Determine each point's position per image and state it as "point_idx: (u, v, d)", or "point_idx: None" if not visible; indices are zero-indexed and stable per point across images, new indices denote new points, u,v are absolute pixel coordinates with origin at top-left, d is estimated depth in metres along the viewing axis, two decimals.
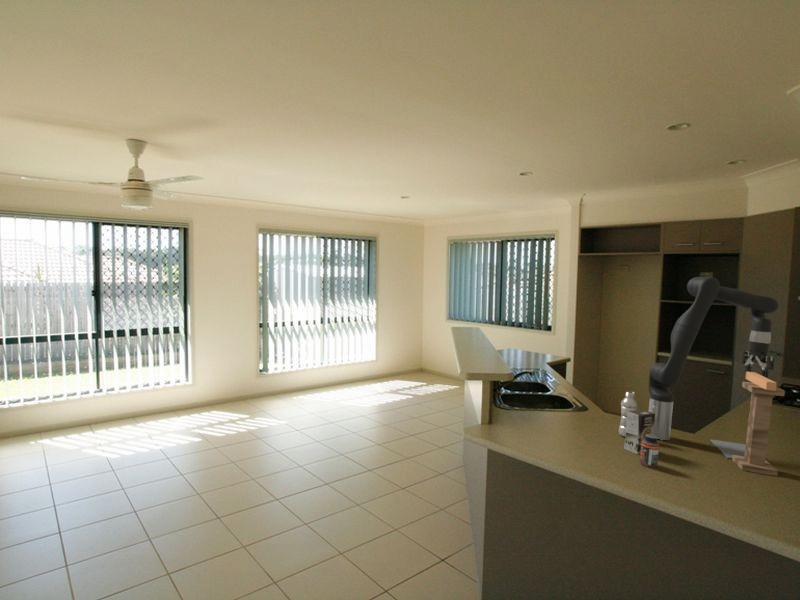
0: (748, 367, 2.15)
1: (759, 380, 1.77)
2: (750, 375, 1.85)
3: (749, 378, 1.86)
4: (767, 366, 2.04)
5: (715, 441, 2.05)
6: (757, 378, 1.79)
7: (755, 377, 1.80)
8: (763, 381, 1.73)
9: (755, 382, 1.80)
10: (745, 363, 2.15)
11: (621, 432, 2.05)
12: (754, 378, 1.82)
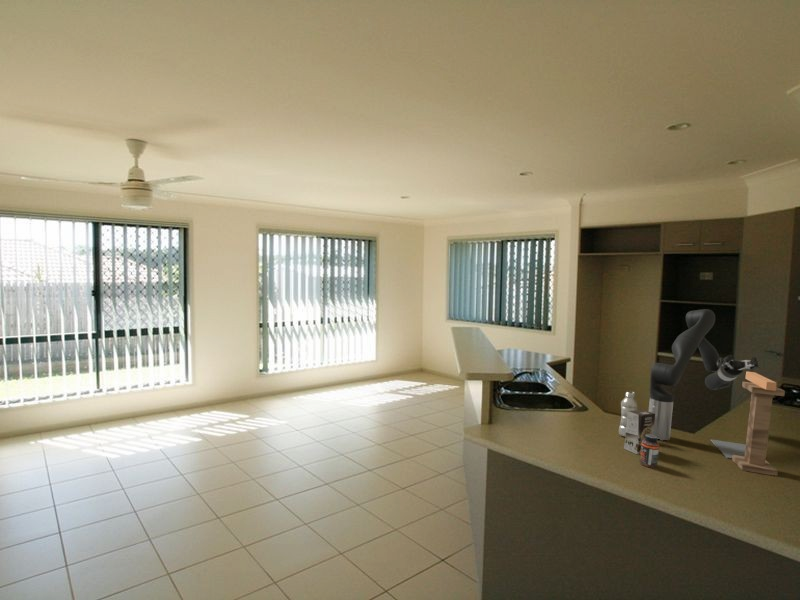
0: None
1: (759, 380, 1.77)
2: (750, 375, 1.85)
3: (749, 378, 1.86)
4: None
5: (715, 441, 2.05)
6: (757, 378, 1.79)
7: (755, 377, 1.80)
8: (763, 381, 1.73)
9: (755, 382, 1.80)
10: None
11: (621, 432, 2.05)
12: (754, 378, 1.82)
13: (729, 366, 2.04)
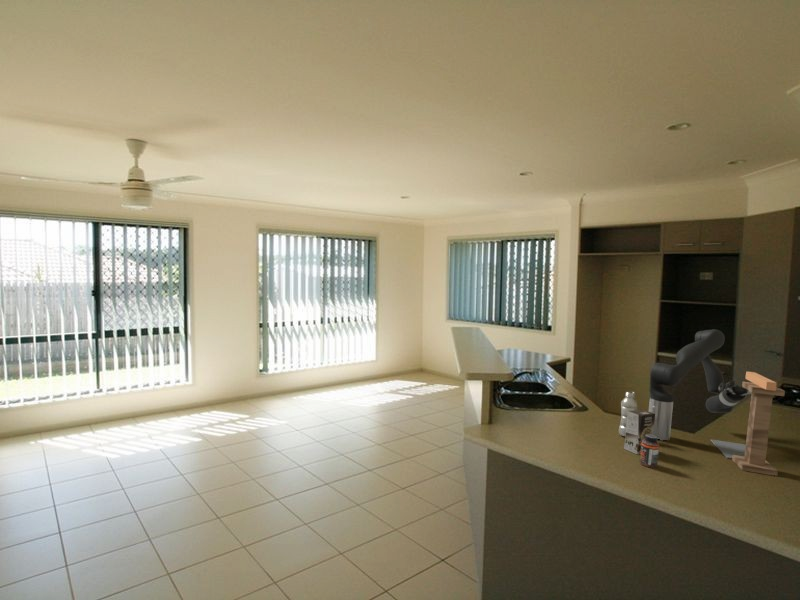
0: None
1: (759, 380, 1.77)
2: (750, 375, 1.85)
3: (749, 378, 1.86)
4: None
5: (715, 441, 2.05)
6: (757, 378, 1.79)
7: (755, 377, 1.80)
8: (763, 381, 1.73)
9: (755, 382, 1.80)
10: (727, 383, 1.99)
11: (621, 432, 2.05)
12: (754, 378, 1.82)
13: (731, 391, 1.99)
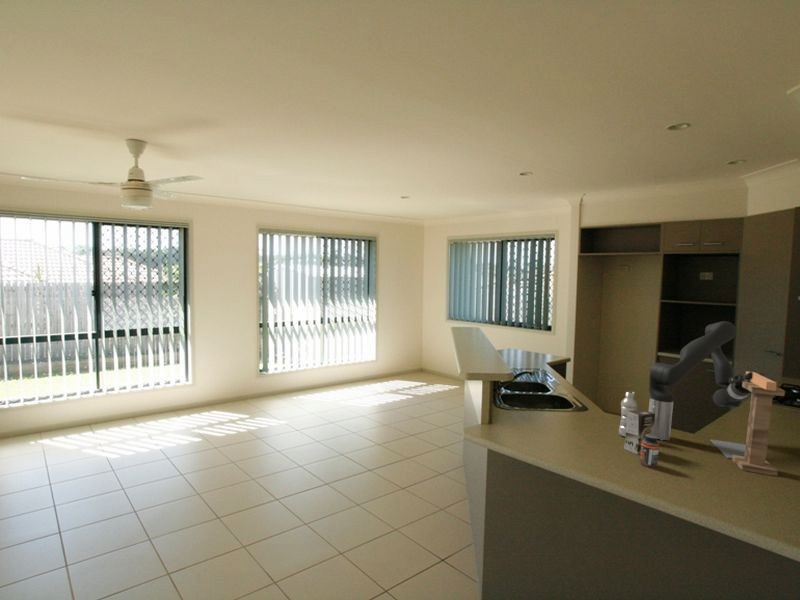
0: None
1: (759, 380, 1.77)
2: None
3: None
4: None
5: (715, 441, 2.05)
6: (757, 378, 1.79)
7: (755, 377, 1.80)
8: (763, 381, 1.73)
9: (755, 382, 1.80)
10: (744, 375, 1.88)
11: (621, 432, 2.05)
12: (753, 378, 1.82)
13: None
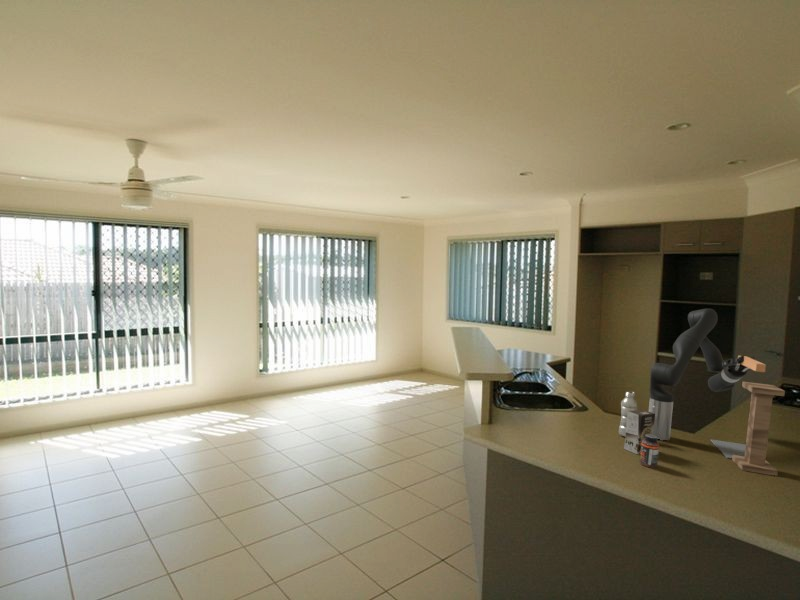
0: None
1: (750, 363, 1.86)
2: None
3: None
4: None
5: (715, 441, 2.05)
6: (748, 361, 1.88)
7: (746, 360, 1.90)
8: (753, 363, 1.83)
9: (746, 365, 1.90)
10: None
11: (621, 432, 2.05)
12: (745, 362, 1.91)
13: (736, 367, 1.99)
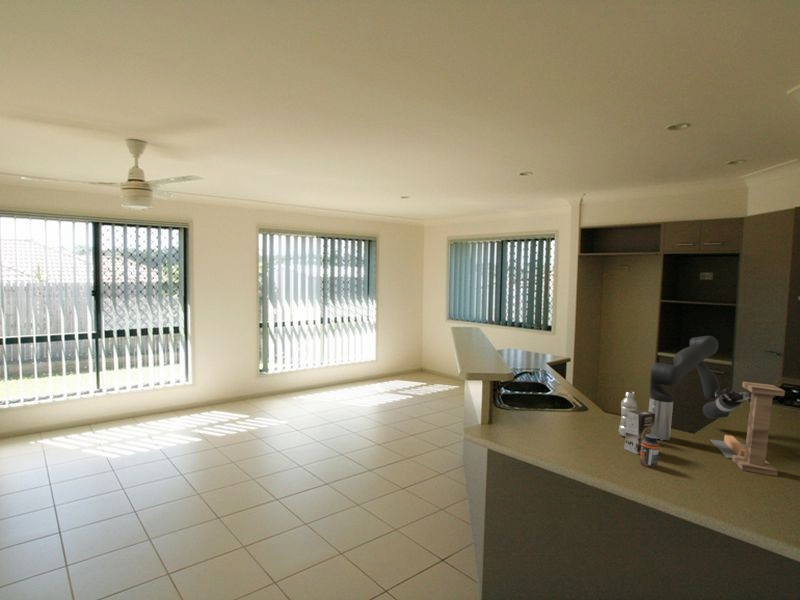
0: None
1: (734, 447, 1.93)
2: (728, 439, 2.01)
3: (727, 442, 2.02)
4: None
5: (715, 441, 2.05)
6: (733, 444, 1.95)
7: (731, 443, 1.97)
8: (738, 449, 1.90)
9: (731, 448, 1.96)
10: None
11: (621, 432, 2.05)
12: (730, 444, 1.98)
13: (727, 398, 2.03)
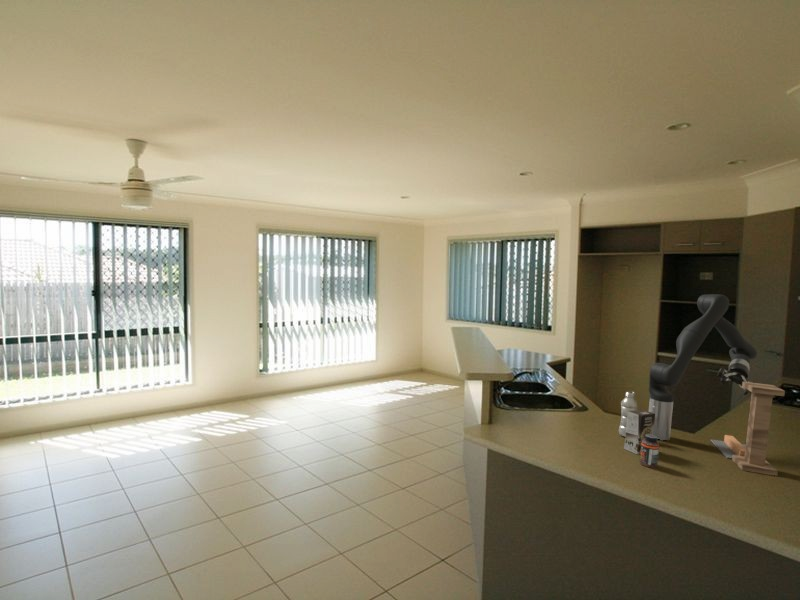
0: (725, 379, 2.03)
1: (734, 447, 1.93)
2: (728, 439, 2.01)
3: (727, 442, 2.02)
4: None
5: (715, 441, 2.05)
6: (733, 444, 1.95)
7: (731, 443, 1.97)
8: (738, 449, 1.90)
9: (731, 448, 1.96)
10: (725, 374, 2.04)
11: (621, 432, 2.05)
12: (730, 444, 1.98)
13: (726, 379, 2.06)
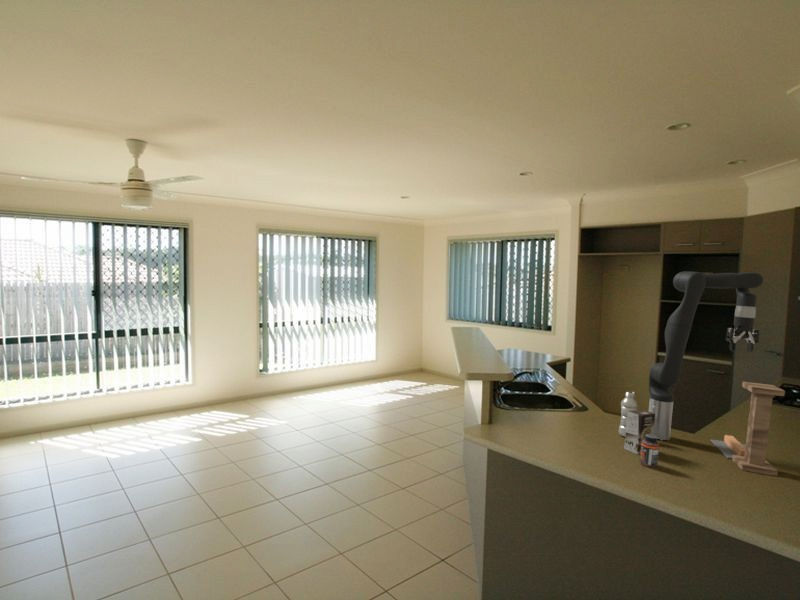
0: None
1: (734, 447, 1.93)
2: (728, 439, 2.01)
3: (727, 442, 2.02)
4: (757, 339, 2.10)
5: (715, 441, 2.05)
6: (733, 444, 1.95)
7: (731, 443, 1.97)
8: (738, 449, 1.90)
9: (731, 448, 1.96)
10: (734, 340, 2.09)
11: (621, 432, 2.05)
12: (730, 444, 1.98)
13: None
